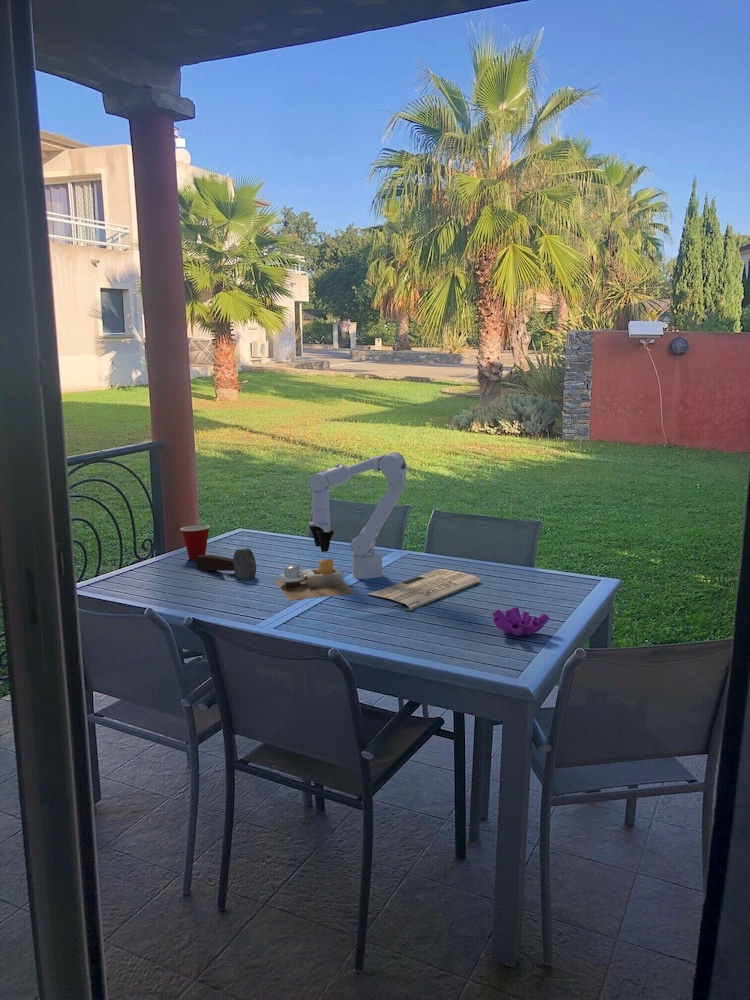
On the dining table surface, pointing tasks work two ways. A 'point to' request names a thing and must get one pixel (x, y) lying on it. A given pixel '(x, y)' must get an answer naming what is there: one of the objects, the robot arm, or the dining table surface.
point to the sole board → (313, 590)
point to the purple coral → (518, 622)
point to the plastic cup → (195, 540)
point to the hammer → (230, 563)
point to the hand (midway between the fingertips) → (321, 548)
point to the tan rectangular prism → (325, 566)
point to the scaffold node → (309, 577)
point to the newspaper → (427, 587)
